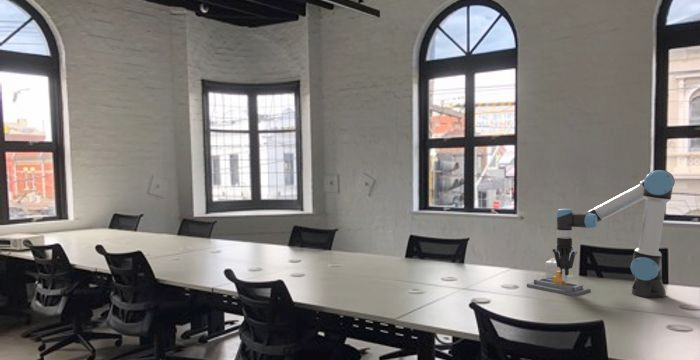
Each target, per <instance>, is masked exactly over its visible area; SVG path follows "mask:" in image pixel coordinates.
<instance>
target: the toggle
mask: <svg viewBox="0 0 700 360" xmlns="http://www.w3.org/2000/svg"><path fill="white" fill-rule="evenodd" d="M566 282H567V281H565V282H564V281H562V274H561V271H556V276H553V283H556V284H561V285H566Z"/></svg>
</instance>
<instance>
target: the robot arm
mask: <svg viewBox="0 0 700 360" xmlns="http://www.w3.org/2000/svg"><path fill="white" fill-rule="evenodd" d="M675 183H676V181H675V178H674V175H673V174H672V173H671V172H669V171H668V170H665V169H656V170H653V171H650V172H649V173H648V174H647V175H646V176H645V178H643V179H642V180H640V181H639V184H637V185H636V186H633V187H631V188H629V189H628V190H626V191H624V192H622V193H619V194H618V195H616V196H614V197H612V198H610V199H609V200H606V201H604V202H603V203H600V204H599V205H596V206H595V207H594V208H591V209H589V210H588V211H585V212H583V213H582V212H573V210H572V209H571V208H559V209H557V210H556V211H557V212H556V245H557V246H556V247H555V248H553V249H552V252H553V254H554V259H556V264H557V267H559V268H560V269H561V274H562V281H564V282H565V281H566V282H568V276H569V273H570V271H569V270H570V269H573V266H574V262H575V259H576V255H577V254H578V251H577V250H576V251H575V250H574V248H573V238H572V237H573V228H583V229H585V228H586V229H595V228H597V227H598V223H599V222H601V221H603V220H605V219H606V218H608V217H611V216H613V215H614V214H616V213H619V212H621V211H623V210H625V209H627V208H628V207H630V206H633V205H634V204H637V203H639V202H642V200H645V204H644V210H643V217H642V222H641V229H640V236H639V242H638V247H636V248H635V249H634V250H633V251H634V252H633V255H632V261H631V263H630V271H631V273H632V275H633V276H634V278H635V279H634V280H633V281H634V282H633V284H632V286H631V294H633V295H635V296H638V297H643V298H654V299H659V298H665V297H666V296H667V291H666V289H665V286H664V284H663V283H664V282H663V279H662V278H663V277H662V275H663V274H662V271H663V270H662V266H663V265H662V258H663V255H662V252H661V251H659V248H660V243H661V239H662V238H661V237H662V232H663V227H664V226H663V225H664V219H665V215H666V214H665V213H666V207H667V203H668V202H670V201H671V199H672V195H673V194H672V193H673V188H674V187H675Z"/></svg>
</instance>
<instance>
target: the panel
mask: <svg viewBox="0 0 700 360" xmlns="http://www.w3.org/2000/svg"><path fill="white" fill-rule="evenodd" d="M526 287H527V288H532V289H537V290H543V291H547V292H552V293H556V294H561V295H567V296H571V297H577V296H579V295H583V294H586V293H589V292H591V291H592V290H591V288H589V287H585V286H584V285H583V284H578V283H574V282H573V283H572V282H568V281H566V285H561V284H556V283H553V280H552V279H546V278H545V277H541V278H538V279H537V278H536V279H533V282H529V283H526Z"/></svg>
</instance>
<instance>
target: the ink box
mask: <svg viewBox="0 0 700 360" xmlns="http://www.w3.org/2000/svg"><path fill="white" fill-rule="evenodd" d="M544 262H545V265H544V267H545V274H544V275H545V277H544V278H546V279H552V280H553V276H556V271H561V269H560V268H559V267H557V264H556V259H555V257H552V258H550V259H548V260H547V261H544Z"/></svg>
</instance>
